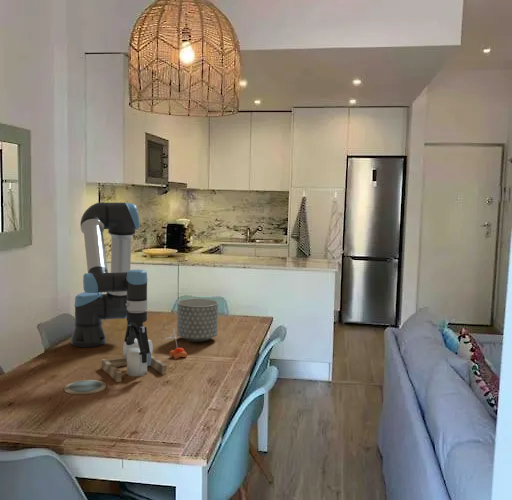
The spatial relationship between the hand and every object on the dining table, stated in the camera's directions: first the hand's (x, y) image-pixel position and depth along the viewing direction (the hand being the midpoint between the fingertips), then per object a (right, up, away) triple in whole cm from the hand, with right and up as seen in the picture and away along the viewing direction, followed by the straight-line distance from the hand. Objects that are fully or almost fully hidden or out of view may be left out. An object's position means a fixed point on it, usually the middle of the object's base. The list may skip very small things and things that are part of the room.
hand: (136, 366), depth 204 cm
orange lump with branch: (+12, -1, +23) cm, 25 cm away
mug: (-4, -1, +22) cm, 22 cm away
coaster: (-15, -4, -16) cm, 22 cm away
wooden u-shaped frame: (-2, -3, +3) cm, 4 cm away
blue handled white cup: (+1, -3, +1) cm, 3 cm away
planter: (+18, +1, +50) cm, 53 cm away
